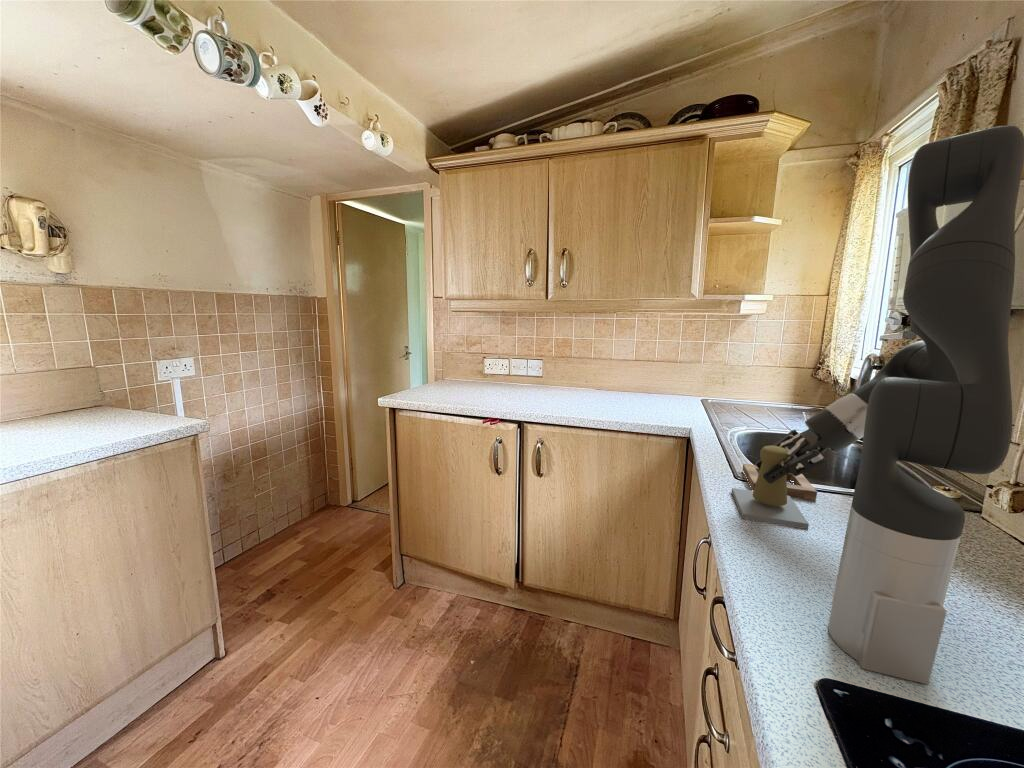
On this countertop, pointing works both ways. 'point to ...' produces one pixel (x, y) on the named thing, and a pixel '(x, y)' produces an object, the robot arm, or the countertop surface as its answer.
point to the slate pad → (768, 510)
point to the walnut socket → (797, 490)
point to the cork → (776, 490)
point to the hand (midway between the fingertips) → (762, 473)
